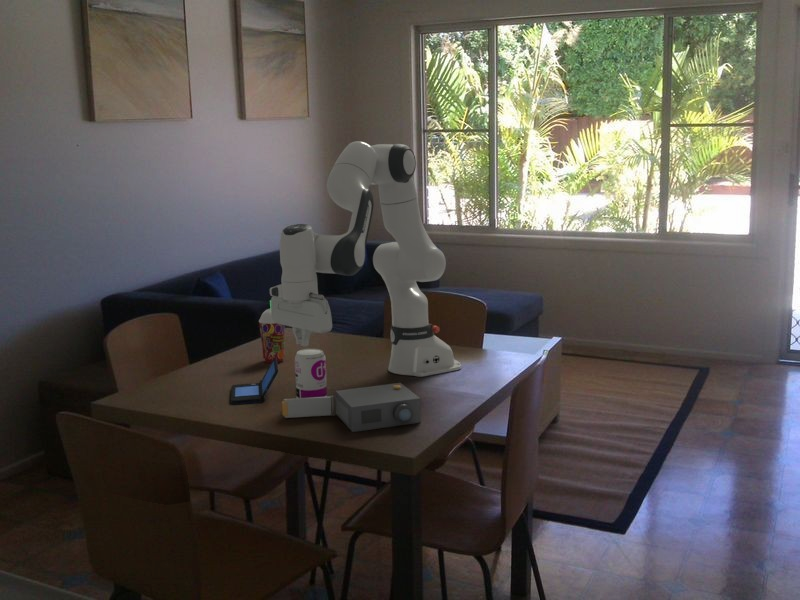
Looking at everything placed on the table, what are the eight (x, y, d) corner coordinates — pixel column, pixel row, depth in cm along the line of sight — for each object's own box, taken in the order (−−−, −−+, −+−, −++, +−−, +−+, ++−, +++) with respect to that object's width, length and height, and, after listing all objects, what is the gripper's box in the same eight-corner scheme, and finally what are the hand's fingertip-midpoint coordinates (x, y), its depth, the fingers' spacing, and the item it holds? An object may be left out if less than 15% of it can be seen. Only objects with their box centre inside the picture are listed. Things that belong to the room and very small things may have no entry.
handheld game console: (231, 389, 261) (229, 358, 259) (278, 386, 263) (276, 355, 261) (230, 405, 246) (228, 373, 244) (280, 402, 248) (278, 369, 246)
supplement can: (333, 404, 243) (331, 351, 240) (311, 412, 237) (308, 357, 234) (313, 399, 249) (310, 346, 246) (290, 406, 243) (288, 352, 240)
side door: (334, 415, 234) (334, 396, 233) (282, 418, 232) (281, 399, 231) (334, 414, 235) (334, 395, 234) (283, 417, 233) (282, 398, 232)
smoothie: (275, 365, 285) (272, 303, 281) (255, 362, 289) (252, 301, 285) (292, 359, 292) (289, 299, 288) (272, 356, 296) (269, 297, 292)
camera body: (401, 405, 241) (400, 380, 239) (424, 425, 225) (423, 398, 223) (335, 414, 235) (334, 388, 234) (354, 435, 219) (353, 407, 217)
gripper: (336, 293, 217) (339, 349, 219) (285, 284, 231) (288, 336, 234) (316, 297, 212) (319, 354, 215) (265, 288, 227) (268, 341, 229)
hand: (302, 345), depth 224 cm, fingers closed
